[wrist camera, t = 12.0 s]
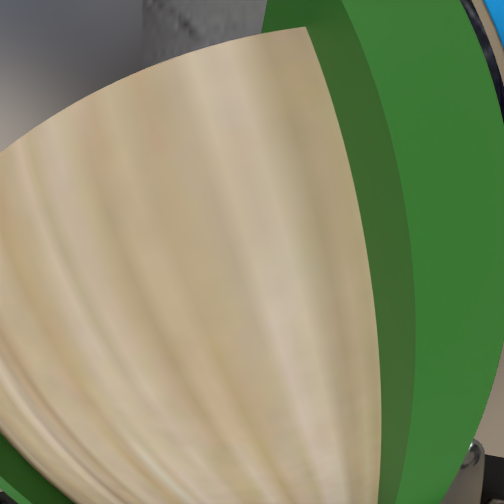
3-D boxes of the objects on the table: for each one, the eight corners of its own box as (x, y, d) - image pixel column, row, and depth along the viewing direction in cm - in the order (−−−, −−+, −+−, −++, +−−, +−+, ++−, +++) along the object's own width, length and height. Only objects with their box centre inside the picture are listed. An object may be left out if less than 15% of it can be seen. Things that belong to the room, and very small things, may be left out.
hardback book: (167, 169, 24) (-140, 242, 1) (252, 142, 24) (410, -75, 1) (231, 345, 29) (230, 598, 6) (303, 325, 29) (390, 569, 6)
